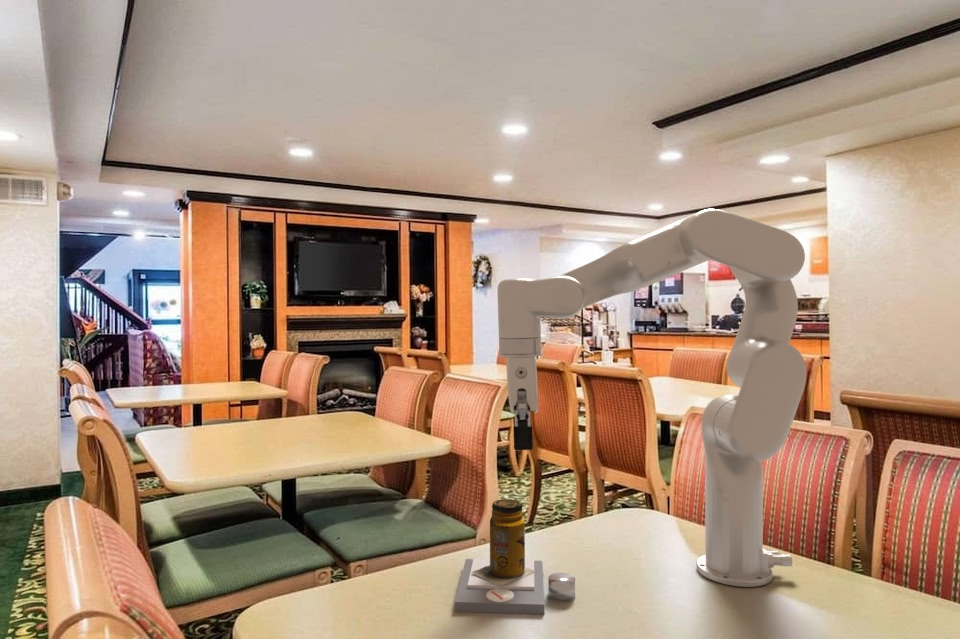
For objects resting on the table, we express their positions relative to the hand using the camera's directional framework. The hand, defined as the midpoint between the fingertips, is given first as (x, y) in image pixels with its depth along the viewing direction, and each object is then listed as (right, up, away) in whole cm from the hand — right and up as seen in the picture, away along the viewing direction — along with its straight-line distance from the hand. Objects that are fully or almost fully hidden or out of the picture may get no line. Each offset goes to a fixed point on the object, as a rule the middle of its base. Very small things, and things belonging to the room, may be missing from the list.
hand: (522, 443), depth 113 cm
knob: (+6, -24, -9) cm, 26 cm away
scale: (-4, -23, -6) cm, 25 cm away
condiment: (-4, -22, -4) cm, 22 cm away
